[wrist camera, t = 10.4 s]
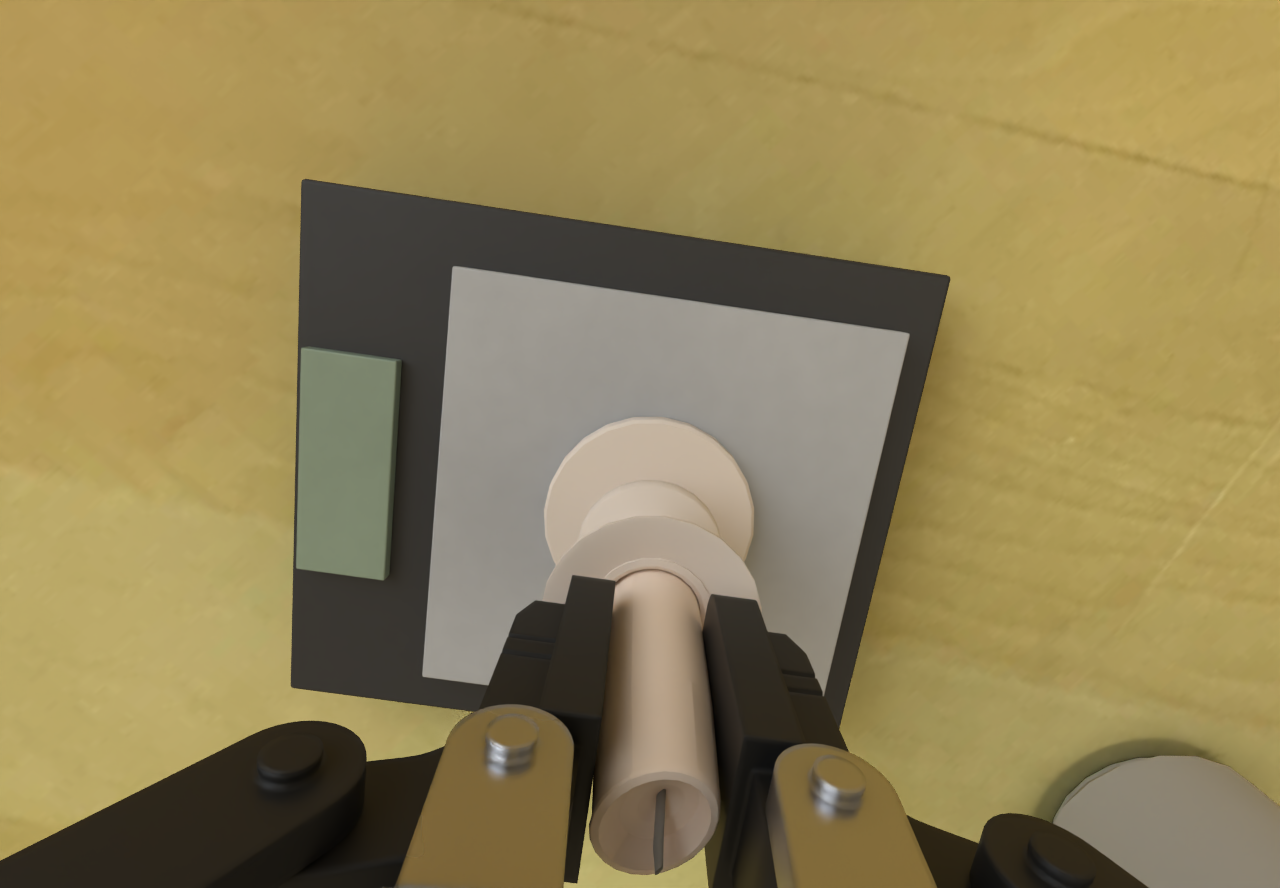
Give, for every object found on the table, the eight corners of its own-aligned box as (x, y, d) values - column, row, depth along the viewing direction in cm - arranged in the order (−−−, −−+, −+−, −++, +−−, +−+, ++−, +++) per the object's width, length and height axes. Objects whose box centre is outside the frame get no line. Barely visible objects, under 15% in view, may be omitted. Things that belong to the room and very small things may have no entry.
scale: (328, 644, 21) (274, 706, 18) (344, 191, 18) (281, 172, 15) (812, 709, 22) (840, 780, 19) (913, 277, 18) (968, 275, 15)
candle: (785, 460, 16) (1016, 749, 6) (703, 636, 17) (782, 1121, 7) (589, 383, 16) (491, 558, 6) (517, 568, 17) (332, 984, 7)
